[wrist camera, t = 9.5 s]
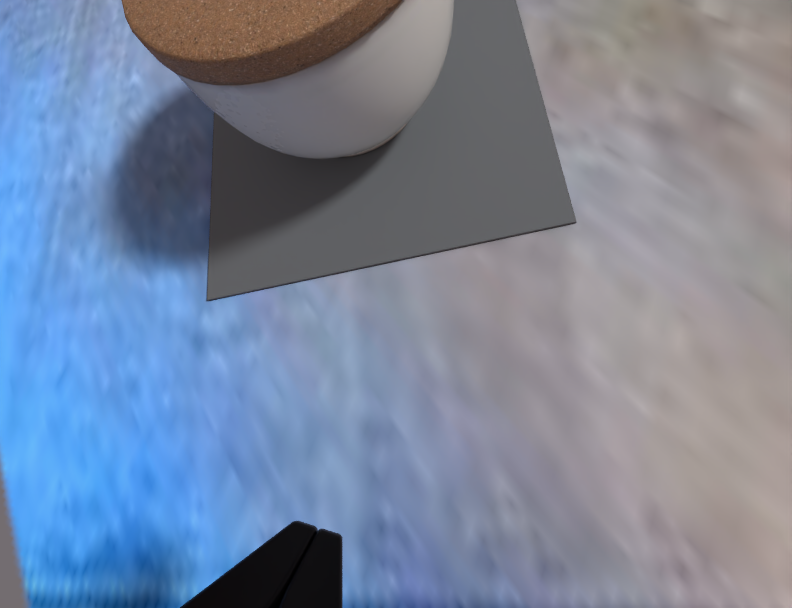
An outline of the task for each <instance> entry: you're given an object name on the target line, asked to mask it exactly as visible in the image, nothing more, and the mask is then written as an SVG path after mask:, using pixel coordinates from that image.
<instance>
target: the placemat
mask: <svg viewBox="0 0 792 608" xmlns="http://www.w3.org/2000/svg"><path fill="white" fill-rule="evenodd" d="M574 223H576V218H575V215H574V211H573V208H572V204H571V200H570V197H569V193H568V189H567V186H566V182H565V178H564V175H563V171H562V167H561V164H560V160H559V157H558V153H557V149H556V146H555V142H554V138H553V135H552V131H551V127H550V124H549V120H548V117H547V113H546V109H545V106H544V102H543V98H542V95H541V91H540V87H539V84H538V80H537V76H536V73H535V69H534V66H533V62H532V58H531V55H530V51H529V47H528V44H527V40H526V36H525V33H524V29H523V26H522V22H521V18H520V15H519V11H518V7H517V4H516V0H454V11H453V22H452V32H451V38H450V42H449V46H448V49H447V53H446V57H445V60H444V64H443V68H442V70H441V72H440V74H439V77H438V79H437V81H436V83H435V85H434V87H433V89H432V91H431V93H430V94H429V96H428V97H427V99H426V101H425V102H424V104H423V105H422V107H421V108H420V109H419V110H418V111H417V112H416V114H415V115H414V116H413V117H412V118H411V119H410V120H409V122H408V123H407V124H406V126H405V127H404V128H403V129H402V130H401V131H400V132H399V133H398V134H397V135H396V136H395V137H394V138H393V139H391V140H390V141H388V142H387V143H385V144H384V145H382V146H380V147H379V148H377V149H375V150H373V151H370V152H367V153H365V154H361V155H357V156H352V157H339V158H329V159H312V158H303V157H297V156H292V155H288V154H284V153H281V152H279V151H276V150H274V149H271V148H269V147H267V146H264V145H262V144H260V143H258V142H255V141H254V140H252V139H251V138H249V137H248V136H246V135H245V134H243V133H242V132H240V131H239V130H237V129H236V128H234V127H233V126H232V125H230V124H229V123H227V122H226V121H225V120H224V119H222V118H221V117H220V116H219V115H218V114H216V113H215V112H214V130H213V157H212V183H211V210H210V236H209V263H208V289H207V300H208V301H211V300H216V299H220V298H225V297H230V296H234V295H239V294H244V293H249V292H253V291H258V290H263V289H267V288H272V287H277V286H282V285H286V284H291V283H296V282H300V281H305V280H310V279H315V278H319V277H324V276H329V275H333V274H338V273H343V272H348V271H352V270H357V269H362V268H366V267H371V266H376V265H381V264H385V263H390V262H395V261H399V260H404V259H409V258H414V257H418V256H423V255H428V254H433V253H437V252H442V251H447V250H451V249H456V248H461V247H466V246H470V245H475V244H480V243H484V242H489V241H494V240H499V239H503V238H508V237H513V236H517V235H522V234H527V233H532V232H536V231H541V230H546V229H550V228H555V227H560V226H565V225H569V224H574Z"/></svg>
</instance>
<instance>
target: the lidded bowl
mask: <svg viewBox="0 0 792 608" xmlns="http://www.w3.org/2000/svg"><path fill="white" fill-rule="evenodd" d="M122 4H123V8H124V13H125V17H126V20H127V22H128V24H129V26H130V28H131V30H132V32H133V33H134V34H135V35H136V37H137V38H138V39H139V40H140V41H141V42H142V44H143V45H144V46H145V47H146V48H147V49H148V50H149V51H150V52H151V53H152V54H153V55H154V56H155V57H156V58H157V60H158V61H160V62H161V63H162V64H163V65H164V66H166V67H167V68H169V69H170V70H172V71H173V72H174V73H176V74H177V75H178V76H179V78H180V79H181V80H182V81H183V82H184V83H185V84H186V85H187V86H188V87H189V88H190V89H191V90H192V91H193V92H194V93H195V94H196V95H197V96H198V97H199V98H200V99H201V100H202V101H203V102H204V103H205V104H206V105H207V106H208V107H209V108H210V109H212V110H213V111H214V112H215V113H216V114H218V115H219V116H220V117H221V118H222V119H224V120H225V121H226V122H227V123H229V124H230V125H232V126H233V127H234V128H236V129H237V130H239V131H240V132H242V133H243V134H245V135H246V136H248V137H249V138H251V139H252V140H254V141H255V142H258V143H260V144H262V145H264V146H267V147H269V148H271V149H274V150H276V151H279V152H281V153H284V154H288V155H292V156H297V157H303V158H312V159H329V158H339V157H352V156H357V155H361V154H365V153H367V152H370V151H373V150H375V149H377V148H379V147H380V146H382V145H384V144H385V143H387V142H388V141H390V140H391V139H393V138H394V137H395V136H396V135H397V134H398V133H399V132H400V131H401V130H402V129H403V128H404V127H405V126H406V124H407V123H408V122H409V120H410V119H411V118H412V117H413V116H414V115H415V114H416V112H417V111H418V110H419V109H420V108H421V107H422V105H423V104H424V102H425V101H426V99H427V97H428V96H429V94H430V93H431V91H432V89H433V87H434V85H435V83H436V81H437V79H438V77H439V74H440V72H441V70H442V68H443V64H444V60H445V57H446V53H447V49H448V46H449V42H450V38H451V32H452V22H453V11H454V0H122Z"/></svg>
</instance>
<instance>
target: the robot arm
mask: <svg viewBox="0 0 792 608" xmlns="http://www.w3.org/2000/svg"><path fill="white" fill-rule="evenodd" d="M180 608H342V536H341V535H340V534H338V533H335V532H331V531H328V530H325V529H319V530H317V528H316V527H315V526H313V525H310V524H307V523H304V522H301V521H294V522H292V523H291V524H289V525H288V526H287V527H285V528H284V529H283V530H281V531H280V532H279V533H277V534H276V535H275V536H274V537H272V538H271V539H270V540H268V541H267V542H266V543H264V544H263V545H262V546H260V547H259V548H258V549H256V550H255V551H254V552H252V553H251V554H250V555H249V556H247V557H246V558H245V559H243V560H242V561H241V562H239V563H238V564H237V565H235V566H234V567H233V568H231V569H230V570H229V571H227V572H226V573H225V574H224V575H222V576H221V577H220V578H218V579H217V580H216V581H214V582H213V583H212V584H210V585H209V586H208V587H206V588H205V589H204V590H203V591H201V592H200V593H199V594H197V595H196V596H195V597H193V598H192V599H191V600H189V601H188V602H187V603H185V604H184V605H183V606H181V607H180Z"/></svg>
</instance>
